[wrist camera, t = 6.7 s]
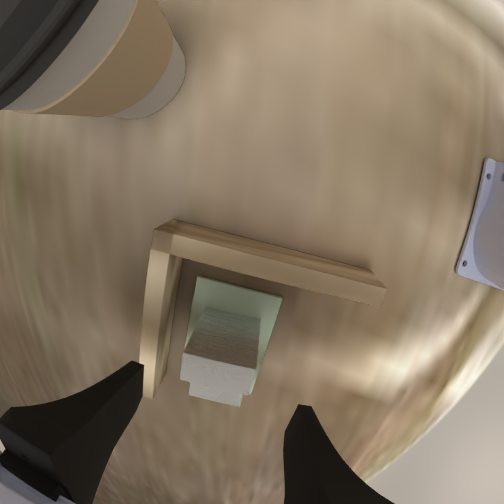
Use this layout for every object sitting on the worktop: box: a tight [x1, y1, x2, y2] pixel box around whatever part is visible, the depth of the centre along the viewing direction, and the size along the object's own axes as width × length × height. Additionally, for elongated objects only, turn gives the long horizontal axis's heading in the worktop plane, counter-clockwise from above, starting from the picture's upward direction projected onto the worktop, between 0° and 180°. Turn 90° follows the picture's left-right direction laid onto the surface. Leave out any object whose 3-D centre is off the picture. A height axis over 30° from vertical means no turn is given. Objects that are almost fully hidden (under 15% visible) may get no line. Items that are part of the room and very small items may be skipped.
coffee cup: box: [0, 0, 186, 119], centre depth 10 cm, size 9×9×15 cm
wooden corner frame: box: [139, 220, 388, 399], centre depth 20 cm, size 13×14×4 cm
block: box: [180, 306, 261, 407], centre depth 19 cm, size 7×4×6 cm, turn 168°
